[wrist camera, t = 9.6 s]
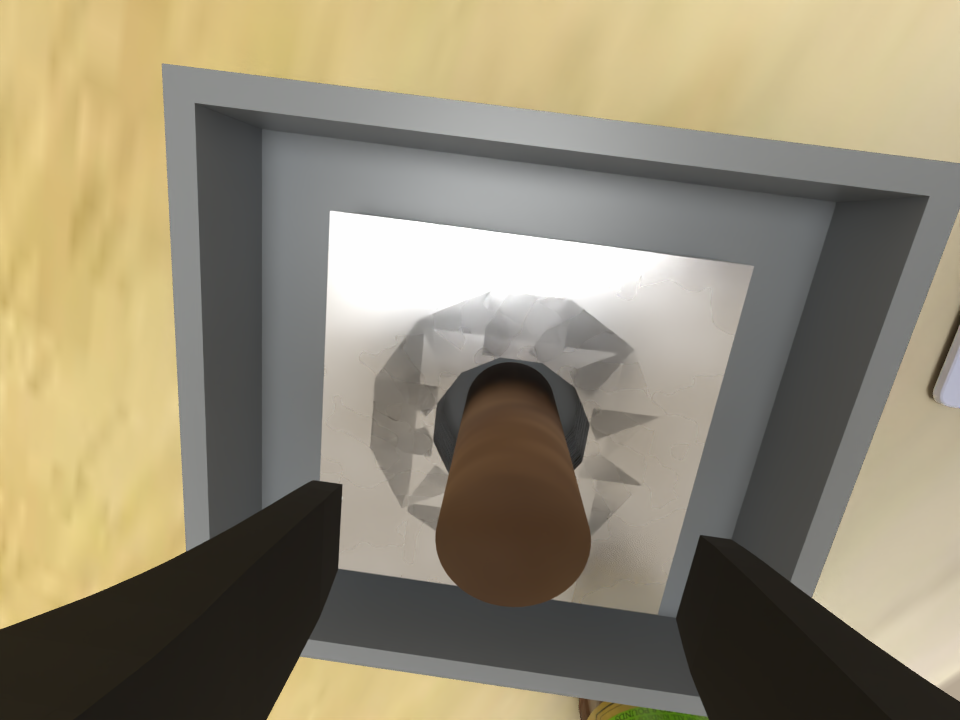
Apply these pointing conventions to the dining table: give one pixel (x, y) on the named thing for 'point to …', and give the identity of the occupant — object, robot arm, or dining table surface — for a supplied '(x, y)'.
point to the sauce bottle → (627, 712)
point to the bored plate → (529, 337)
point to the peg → (512, 494)
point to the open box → (545, 213)
